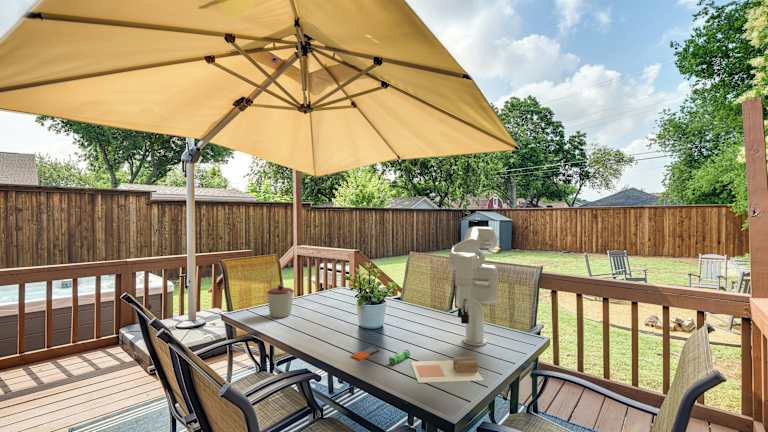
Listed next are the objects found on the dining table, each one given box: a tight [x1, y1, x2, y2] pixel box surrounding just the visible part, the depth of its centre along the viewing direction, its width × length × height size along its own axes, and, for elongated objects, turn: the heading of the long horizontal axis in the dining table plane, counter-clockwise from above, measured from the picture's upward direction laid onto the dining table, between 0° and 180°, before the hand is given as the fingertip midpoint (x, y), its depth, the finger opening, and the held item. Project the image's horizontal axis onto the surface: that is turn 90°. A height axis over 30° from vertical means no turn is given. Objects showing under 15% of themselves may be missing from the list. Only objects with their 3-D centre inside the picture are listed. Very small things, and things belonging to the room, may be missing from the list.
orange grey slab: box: [350, 346, 380, 362], centre depth 173 cm, size 6×1×15 cm
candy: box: [388, 349, 411, 365], centre depth 166 cm, size 12×3×4 cm
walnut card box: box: [452, 356, 478, 373], centre depth 156 cm, size 6×9×4 cm, turn 95°
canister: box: [265, 284, 295, 319], centre depth 235 cm, size 18×18×21 cm
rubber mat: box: [410, 359, 485, 384], centre depth 155 cm, size 20×28×1 cm
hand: (463, 320), depth 156 cm, fingers open, 9 cm apart
